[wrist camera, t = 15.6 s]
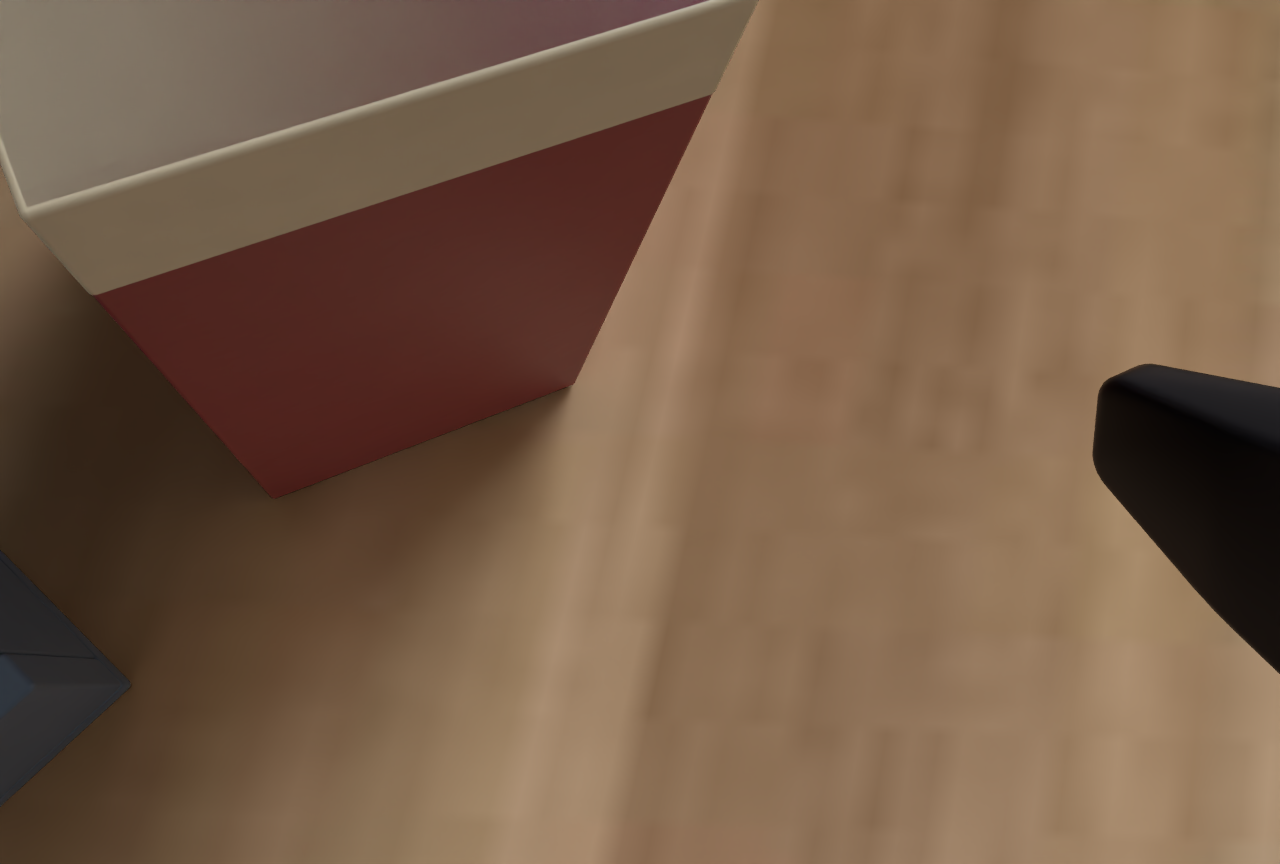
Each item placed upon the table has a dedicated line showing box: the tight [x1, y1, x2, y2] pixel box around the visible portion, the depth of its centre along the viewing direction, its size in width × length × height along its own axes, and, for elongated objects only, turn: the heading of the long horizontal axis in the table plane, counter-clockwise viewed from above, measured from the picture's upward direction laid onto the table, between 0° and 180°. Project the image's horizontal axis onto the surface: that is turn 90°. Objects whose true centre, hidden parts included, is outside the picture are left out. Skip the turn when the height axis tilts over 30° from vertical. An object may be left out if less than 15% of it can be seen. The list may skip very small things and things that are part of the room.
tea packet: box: [0, 0, 759, 499], centre depth 14 cm, size 6×6×12 cm
